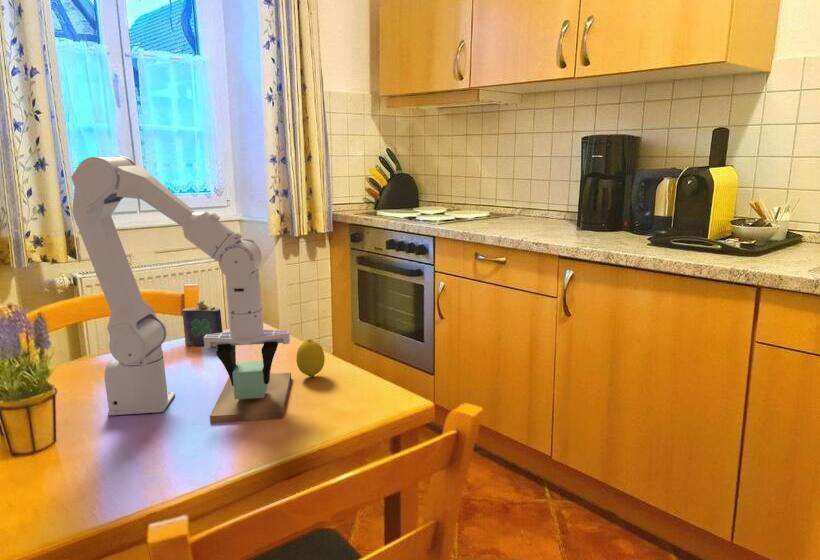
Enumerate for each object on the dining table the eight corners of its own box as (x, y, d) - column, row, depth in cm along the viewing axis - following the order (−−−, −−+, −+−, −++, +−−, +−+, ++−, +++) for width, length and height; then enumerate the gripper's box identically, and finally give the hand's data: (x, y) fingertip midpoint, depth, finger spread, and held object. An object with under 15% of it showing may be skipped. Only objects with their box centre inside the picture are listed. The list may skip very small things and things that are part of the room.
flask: (183, 347, 139) (179, 302, 136) (189, 342, 142) (185, 299, 139) (221, 347, 138) (217, 303, 135) (226, 343, 141) (222, 300, 138)
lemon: (319, 383, 116) (317, 344, 114) (293, 381, 117) (290, 343, 115) (329, 372, 121) (327, 335, 119) (303, 371, 122) (301, 334, 120)
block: (234, 399, 104) (232, 372, 103) (239, 387, 109) (237, 362, 108) (263, 397, 104) (261, 371, 103) (267, 386, 109) (265, 360, 108)
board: (210, 422, 100) (209, 416, 100) (229, 381, 117) (229, 376, 117) (282, 418, 101) (282, 411, 101) (291, 378, 119) (291, 372, 118)
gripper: (196, 318, 99) (204, 394, 102) (285, 314, 100) (290, 389, 103) (206, 307, 106) (213, 378, 109) (288, 303, 107) (293, 374, 110)
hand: (251, 382), depth 106 cm, fingers closed on block, 5 cm apart
